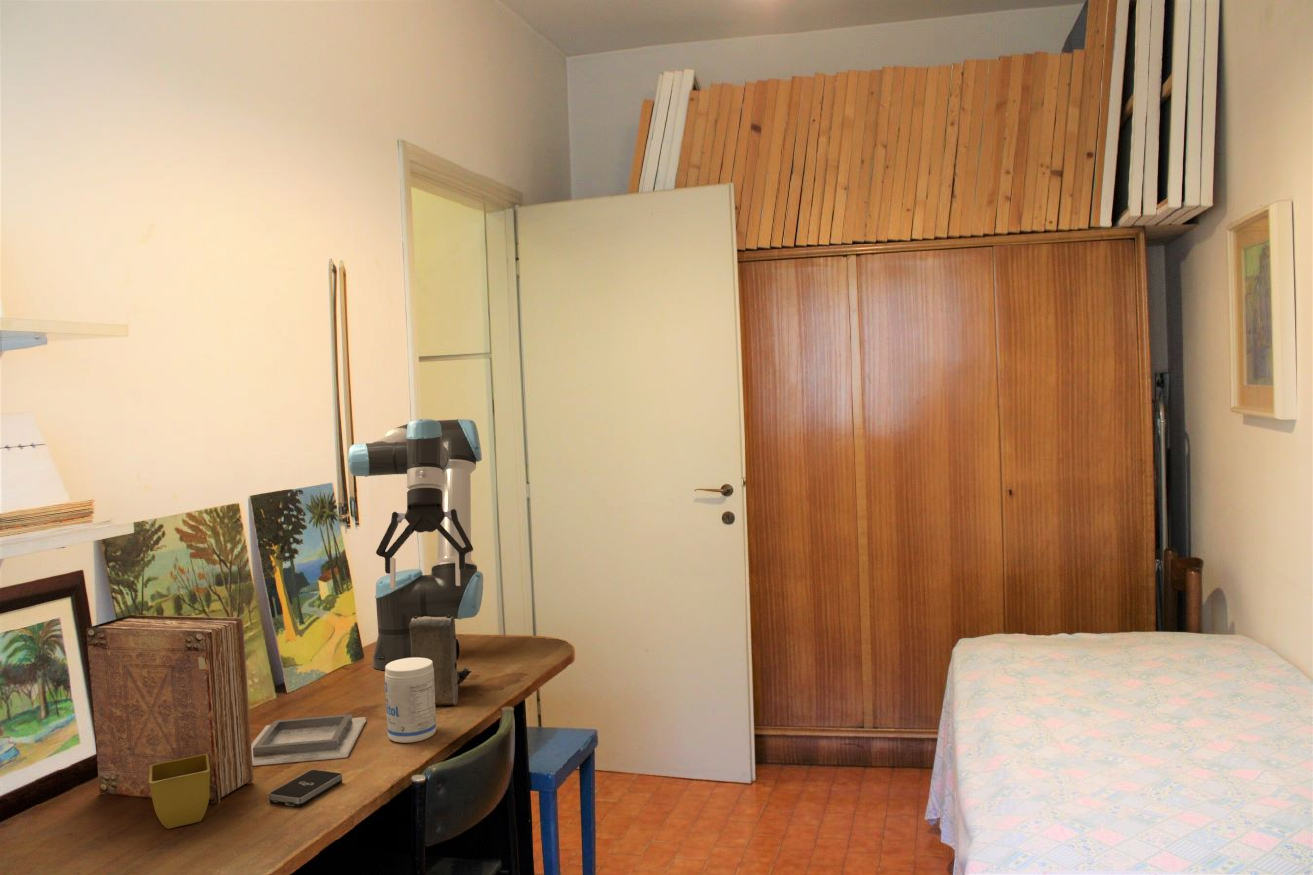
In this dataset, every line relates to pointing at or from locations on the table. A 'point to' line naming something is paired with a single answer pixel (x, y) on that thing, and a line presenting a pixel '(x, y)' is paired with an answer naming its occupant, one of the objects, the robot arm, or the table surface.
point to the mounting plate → (306, 739)
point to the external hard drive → (305, 788)
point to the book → (169, 700)
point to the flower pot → (180, 790)
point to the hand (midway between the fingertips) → (425, 587)
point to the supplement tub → (410, 699)
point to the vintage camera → (439, 654)
